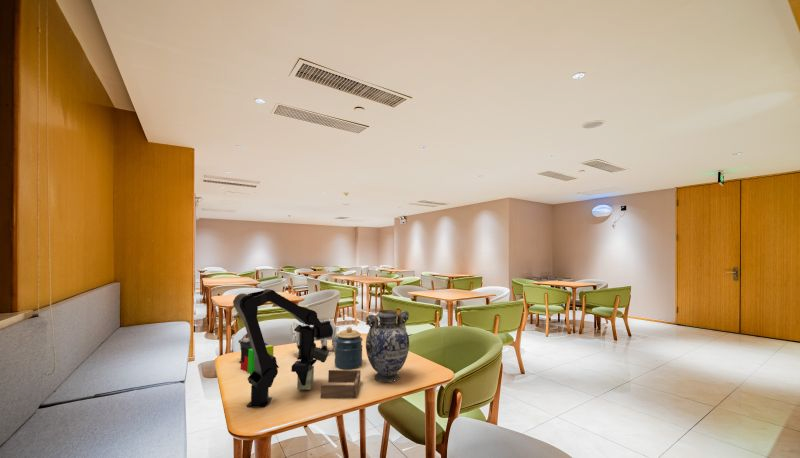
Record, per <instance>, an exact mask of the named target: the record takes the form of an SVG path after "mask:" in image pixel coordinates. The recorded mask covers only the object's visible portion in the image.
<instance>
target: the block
mask: <svg viewBox="0 0 800 458" xmlns="http://www.w3.org/2000/svg"><path fill="white" fill-rule="evenodd" d="M311 367H312V368H311V369H310V371H308V374H307V379H306V384H305V386H302V384H301V382H300V380H299V377H298V376H297V379H296V380H297V382H296V383H297V385H296V387H297V388H296V390H311V389H312V388H313V385H314V382H315V381H314V379H315V378H314V377H315V375H314V373H315V366H314V365H312V366H311Z"/></svg>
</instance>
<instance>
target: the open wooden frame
mask: <svg viewBox="0 0 800 458" xmlns="http://www.w3.org/2000/svg"><path fill="white" fill-rule="evenodd" d="M327 376H328V378H327V379H328V380H327V381H328V383H354V384H321V385H320V398H319V399H357V396H358V393H359V388H360V383H361V370H360V369H358V370H357V369H342V370H341V369H329V370H328V375H327Z"/></svg>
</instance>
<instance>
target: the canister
mask: <svg viewBox="0 0 800 458" xmlns="http://www.w3.org/2000/svg"><path fill="white" fill-rule="evenodd" d="M361 335H362V333H361V332H359V331H358V330H356V329H353V328H352V327H351V326H348V327H346V329H345V330H341V331H340V333H338V334H337V336H338V338H336V339H335V341H336V346H335V350H334V366H335V368H337V369H339V370H341V369H342V370H355V369H358V368H360V367H361V366H362V365H363V364H362V363H363V344H362V342H363V337H361Z"/></svg>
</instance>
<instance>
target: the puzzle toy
mask: <svg viewBox="0 0 800 458" xmlns="http://www.w3.org/2000/svg"><path fill="white" fill-rule="evenodd" d="M265 346H266V349H267V352H268V354H270V355H272V356H274V345H272V344H270V343H267V342H265ZM254 359H255V357H254V353H253V350H252V347H251V344H250V345H246V346H241V347H240V361H241V363H240V370H243V371H244V372H245V373H248V374H250V375H251V374H252V372H253V371H254Z"/></svg>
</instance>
